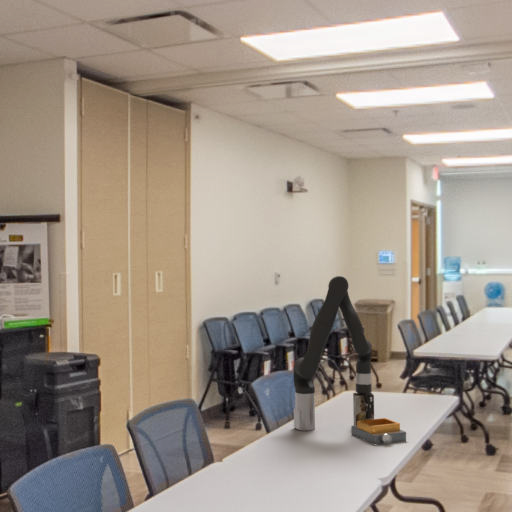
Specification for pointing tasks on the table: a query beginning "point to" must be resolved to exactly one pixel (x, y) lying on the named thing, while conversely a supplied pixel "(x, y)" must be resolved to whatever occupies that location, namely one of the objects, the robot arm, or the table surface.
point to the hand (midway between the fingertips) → (363, 416)
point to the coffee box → (360, 407)
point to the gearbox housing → (379, 431)
